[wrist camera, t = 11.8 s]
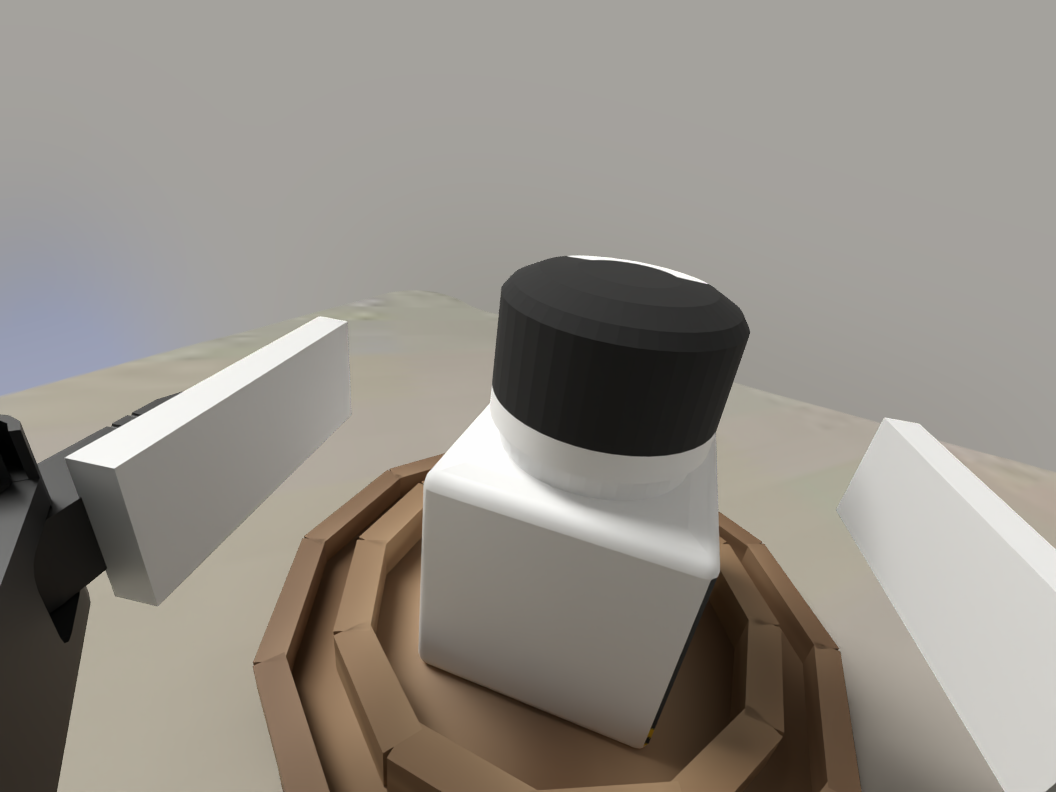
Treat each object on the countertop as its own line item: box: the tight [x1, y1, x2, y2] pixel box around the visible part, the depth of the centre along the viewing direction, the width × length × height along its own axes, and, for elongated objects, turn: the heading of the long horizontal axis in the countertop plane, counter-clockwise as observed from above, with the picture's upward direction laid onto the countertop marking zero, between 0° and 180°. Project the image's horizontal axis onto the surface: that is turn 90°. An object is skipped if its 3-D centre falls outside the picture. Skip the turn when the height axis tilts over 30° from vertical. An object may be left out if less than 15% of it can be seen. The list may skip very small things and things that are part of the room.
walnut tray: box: [253, 453, 862, 792], centre depth 17 cm, size 18×18×2 cm
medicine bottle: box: [418, 256, 750, 749], centre depth 15 cm, size 7×7×12 cm
